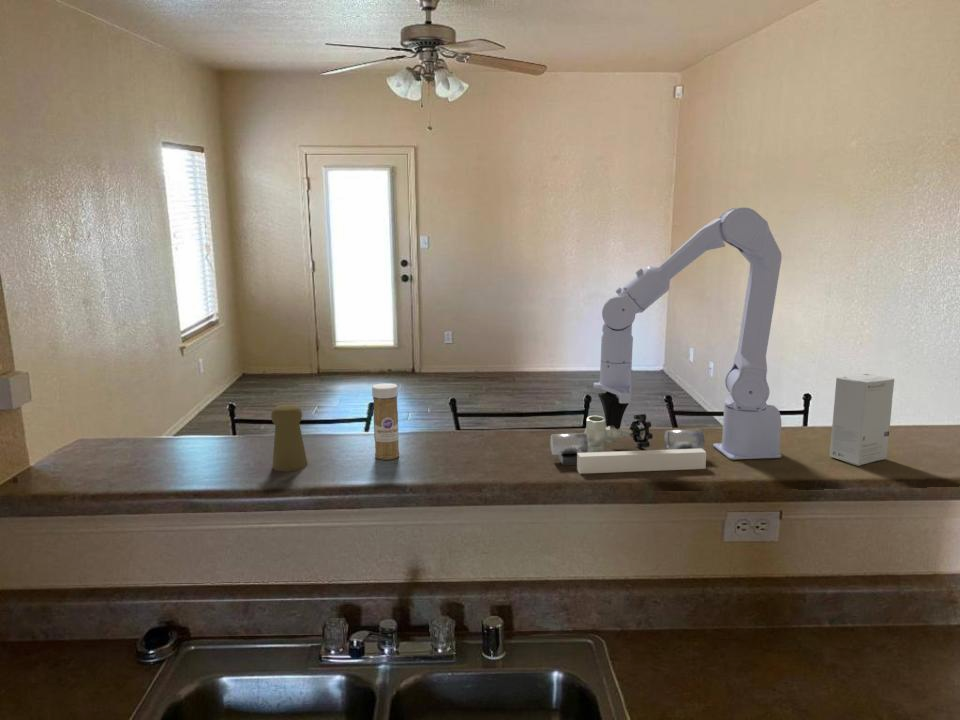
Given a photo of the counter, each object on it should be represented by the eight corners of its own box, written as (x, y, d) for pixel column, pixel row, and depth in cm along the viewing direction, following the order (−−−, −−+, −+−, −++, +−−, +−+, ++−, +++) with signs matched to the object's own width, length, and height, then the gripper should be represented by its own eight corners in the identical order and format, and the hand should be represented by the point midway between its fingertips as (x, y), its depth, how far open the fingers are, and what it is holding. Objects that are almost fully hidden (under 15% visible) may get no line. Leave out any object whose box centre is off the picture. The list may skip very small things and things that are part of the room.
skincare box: (858, 467, 120) (866, 383, 117) (827, 457, 125) (834, 376, 122) (888, 459, 123) (897, 377, 121) (856, 449, 129) (864, 371, 126)
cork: (313, 461, 125) (310, 402, 123) (296, 472, 120) (292, 411, 118) (284, 458, 127) (280, 400, 125) (265, 469, 121) (261, 409, 119)
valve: (591, 460, 125) (651, 453, 128) (593, 426, 123) (654, 420, 126) (576, 446, 131) (634, 440, 134) (578, 413, 129) (636, 408, 132)
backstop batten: (700, 464, 121) (701, 448, 121) (705, 468, 119) (706, 452, 119) (576, 469, 120) (577, 452, 119) (579, 473, 118) (579, 456, 117)
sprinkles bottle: (380, 462, 124) (377, 389, 122) (371, 455, 128) (367, 384, 126) (404, 457, 127) (401, 386, 124) (393, 451, 131) (391, 381, 128)
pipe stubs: (694, 452, 128) (696, 426, 127) (704, 460, 124) (705, 433, 123) (549, 457, 126) (550, 430, 125) (554, 465, 122) (554, 438, 121)
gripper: (586, 353, 136) (583, 420, 139) (604, 369, 122) (601, 443, 125) (621, 353, 137) (618, 419, 139) (644, 368, 122) (640, 442, 125)
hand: (613, 430), depth 132 cm, fingers closed
